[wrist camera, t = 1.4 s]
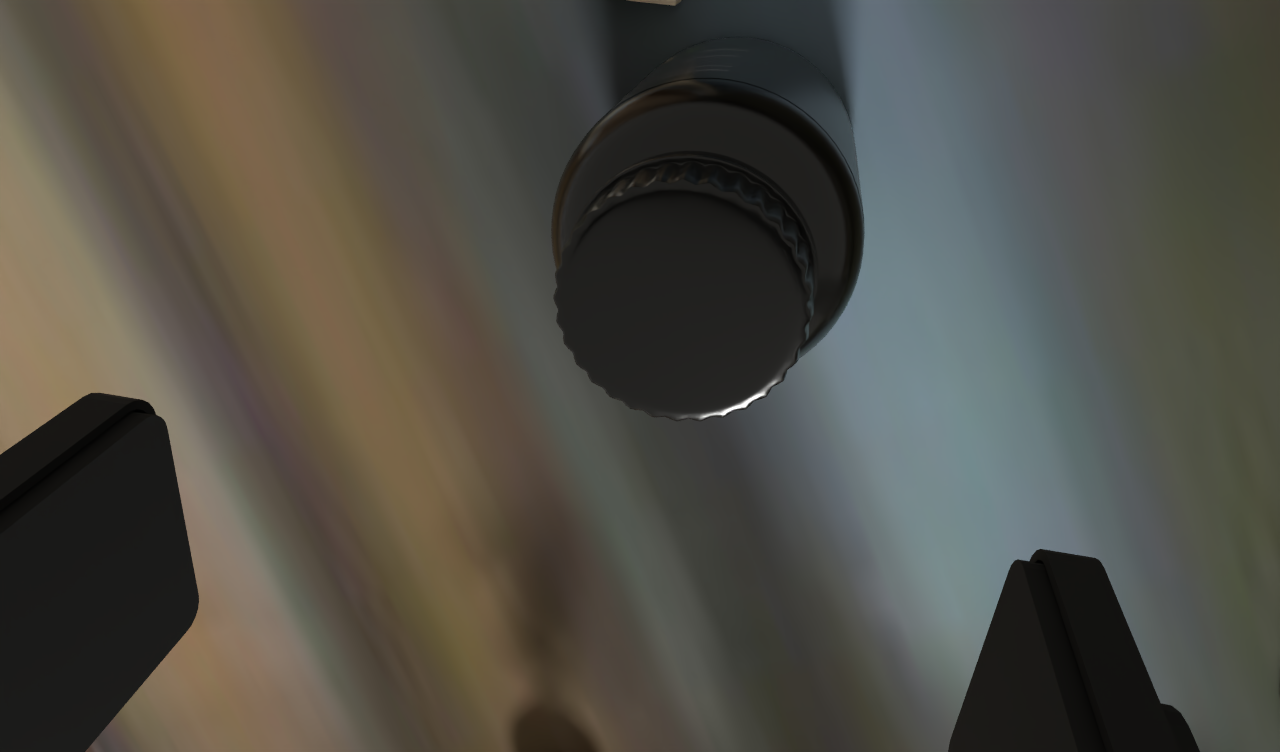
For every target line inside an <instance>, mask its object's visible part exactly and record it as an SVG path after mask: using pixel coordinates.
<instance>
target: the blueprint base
mask: <svg viewBox="0 0 1280 752" xmlns="http://www.w3.org/2000/svg"><path fill="white" fill-rule="evenodd" d="M628 1H637V2H646V3H655V4H664V5H673V6H676V5H677V4H678V3H679V2H681V1H682V0H628Z"/></svg>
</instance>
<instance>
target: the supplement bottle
mask: <svg viewBox="0 0 1280 752" xmlns="http://www.w3.org/2000/svg"><path fill="white" fill-rule="evenodd" d="M551 238H552V249H553V256H554V261H555V266H556V269H557V270H556V272H555V278H556V283H557V289H556V291H555V294H554V301H555V304H556V306H557V308H558V313H557V320H556V322H557V323H558V325H559V327H560V328H561V329H562V331H563V334H564V336H563V339H564V344H565V345H566V346H567V347H568V349H570V350H571V351H572V352H573V354H574V359H575V362H576V364H577V365H578V366H579V367H581V368H582V369H584V370H585V371H586V372H587V374H588V376H589V378H590V380H591V382H593V383H595V384H596V385H598V386H601V387H603V388H604V390H605V391H606V393H607V394H608V395H609V396H610V397H612V398H614V399H618V400H621V401H623V402H624V403H625V404H626V405H627V406H628V407H629V408H630V409H635V410H643V411H645V412H646V413H647V414H649V415H650V416H652V417H664V416H665V417H667V418H670V419H672V420H675V421H680V420H685V419H693V420H696V421H702V420H705V419H707V418H709V417H725V416H726V415H728V414H729V413H731V412H732V411H734V410H743V409H746V408H748V407H749V406H750V405H751V403H752V402H753V401H755V400H759V399H762V398H764V397H766V396H767V395H768V393H769V392H770V390H771V388H772V387H773V386H775V385H777V384H779V383H781V382H782V381H784V379H785V376H786V374H787V370H788V369H789V368H791V367H792V366H793V365H794V364H795V363H796V362H797V361H798V359H799V358H801V357H802V356H804V355H805V354H806V353H807V352H809V351H810V350H811V349H812V348H813V347H815V346H816V345H817V344H818V343H819V342H820V341H821V340H822V339H823V338H824V337H825V336H826V335H827V333H828V332H829V331H830V330H831V328H832V327H833V326H834V325H835V323H836V322H837V320H838V319H839V317H840V316H841V314H842V313H843V311H844V310H845V308H846V306H847V304H848V302H849V300H850V298H851V296H852V293H853V291H854V288H855V285H856V283H857V279H858V276H859V272H860V268H861V262H862V256H863V247H864V214H863V206H862V197H861V189H860V180H859V172H858V163H857V155H856V147H855V141H854V136H853V131H852V127H851V123H850V119H849V117H848V114H847V111H846V109H845V107H844V105H843V102H842V100H841V98H840V97H839V95H838V93H837V92H836V90H835V89H834V87H833V86H832V85H831V83H830V82H829V81H828V79H827V78H826V77H825V76H824V75H823V74H822V73H821V72H820V71H819V70H818V69H817V68H816V67H815V66H814V65H813V64H812V63H810V62H809V61H808V60H806V59H805V58H804V57H802V56H801V55H799V54H798V53H796V52H794V51H792V50H790V49H788V48H786V47H784V46H781V45H779V44H776V43H773V42H769V41H766V40H761V39H756V38H748V37H727V38H719V39H714V40H710V41H705V42H702V43H699V44H696V45H693V46H691V47H689V48H687V49H685V50H682V51H680V52H679V53H677V54H675V55H674V56H672V57H671V58H669V59H668V60H666V61H665V62H664V63H662V64H661V65H660V66H658V67H657V68H656V69H655V70H654V71H653V72H651V73H650V74H649V75H648V76H647V77H646V78H645V79H644V80H643V81H642V82H640V83H639V84H638V85H637V86H636V87H635V88H634V89H633V90H632V91H631V92H630V93H628V94H627V95H626V96H625V97H624V98H623V99H622V100H621V101H620V102H619V103H618V104H616V105H615V106H614V107H613V108H612V109H611V110H610V111H609V112H608V113H607V114H606V115H605V116H603V117H602V118H601V119H600V120H599V121H598V122H597V123H596V124H595V125H594V127H593V128H592V129H591V130H590V131H589V132H588V133H587V135H586V136H585V137H584V139H583V140H582V141H581V143H580V144H579V145H578V147H577V148H576V150H575V151H574V153H573V155H572V156H571V158H570V160H569V162H568V163H567V165H566V168H565V170H564V172H563V174H562V177H561V179H560V182H559V185H558V188H557V192H556V196H555V201H554V205H553V213H552V228H551Z"/></svg>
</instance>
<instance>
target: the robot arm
mask: <svg viewBox="0 0 1280 752" xmlns="http://www.w3.org/2000/svg"><path fill="white" fill-rule="evenodd" d="M198 604H199V595H198V589H197V584H196V579H195V573H194V568H193V562H192V557H191V552H190V546H189V541H188V536H187V530H186V525H185V520H184V514H183V509H182V504H181V498H180V493H179V488H178V482H177V477H176V472H175V466H174V461H173V456H172V450H171V445H170V440H169V434H168V429H167V426H166V423H165V421H164V420H163V419H162V417H159V416H157V415H156V414H155V411H154V409H153V407H152V406H151V405H150V404H149V403H148V402H146V401H144V400H140V399H134V398H128V397H122V396H116V395H110V394H104V393H91V394H88V395H86V396H84V397H82V398H81V399H79V400H78V401H77V402H75V403H74V404H72V405H71V406H69V407H68V408H67V409H65V410H64V411H62V412H61V413H59V414H58V415H57V416H55V417H54V418H52V419H51V420H49V421H48V422H47V423H45V424H44V425H42V426H41V427H39V428H38V429H36V430H35V431H34V432H32V433H31V434H29V435H28V436H26V437H25V438H24V439H22V440H21V441H19V442H18V443H16V444H15V445H14V446H12V447H11V448H9V449H8V450H6V451H5V452H4V453H2V454H1V455H0V752H85V751H86V750H87V749H88V748H89V746H90V745H91V744H92V743H93V742H94V740H95V739H96V738H97V737H98V736H99V735H100V733H101V732H102V731H103V730H104V729H105V727H106V726H107V725H108V724H109V723H110V722H111V720H112V719H113V718H114V717H115V716H116V714H117V713H118V712H119V711H120V710H121V709H122V707H123V706H124V705H125V704H126V703H127V701H128V700H129V699H130V698H131V697H132V696H133V694H134V693H135V692H136V691H137V690H138V688H139V687H140V686H141V685H142V684H143V683H144V681H145V680H146V679H147V678H148V677H149V675H150V674H151V673H152V672H153V671H154V670H155V668H156V667H157V666H158V665H159V664H160V662H161V661H162V660H163V659H164V658H165V657H166V655H167V654H168V653H169V652H170V651H171V649H172V648H173V647H174V646H175V645H176V644H177V642H178V641H179V640H180V639H181V638H182V636H183V635H184V634H185V633H186V632H187V631H188V629H189V628H190V626H191V625H192V623H193V621H194V619H195V617H196V613H197V610H198ZM948 752H1200V751H1199V748H1198V746H1197V744H1196V742H1195V739H1194V737H1193V735H1192V732H1191V730H1190V728H1189V726H1188V724H1187V723H1186V721H1185V719H1184V718H1183V716H1182V714H1181V713H1180V712H1179V711H1178V710H1176V709H1175V708H1174V707H1173V706H1171V705H1166V704H1161V703H1160V701H1159V699H1158V696H1157V694H1156V691H1155V689H1154V687H1153V684H1152V682H1151V679H1150V677H1149V675H1148V672H1147V670H1146V667H1145V665H1144V663H1143V660H1142V658H1141V655H1140V653H1139V650H1138V648H1137V646H1136V643H1135V641H1134V638H1133V636H1132V634H1131V631H1130V629H1129V626H1128V624H1127V622H1126V619H1125V617H1124V614H1123V612H1122V610H1121V607H1120V605H1119V602H1118V600H1117V597H1116V595H1115V593H1114V590H1113V588H1112V585H1111V583H1110V581H1109V578H1108V576H1107V573H1106V571H1105V569H1104V567H1103V565H1102V563H1101V562H1100V561H1099V560H1098V559H1096V558H1092V557H1086V556H1080V555H1074V554H1068V553H1062V552H1056V551H1050V550H1044V549H1040V550H1037V551H1036V552H1035V553H1034V554H1033V555H1032V557H1031V559H1030V561H1023V560H1015V561H1014V562H1013V564H1012V565H1011V567H1010V570H1009V572H1008V575H1007V578H1006V581H1005V584H1004V587H1003V589H1002V592H1001V595H1000V598H999V601H998V604H997V607H996V610H995V613H994V615H993V618H992V621H991V624H990V627H989V630H988V633H987V636H986V639H985V641H984V644H983V647H982V650H981V653H980V656H979V659H978V662H977V665H976V667H975V670H974V673H973V676H972V679H971V682H970V685H969V688H968V691H967V693H966V696H965V699H964V702H963V705H962V708H961V711H960V714H959V716H958V719H957V722H956V725H955V728H954V731H953V734H952V737H951V740H950V744H949V750H948Z"/></svg>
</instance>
